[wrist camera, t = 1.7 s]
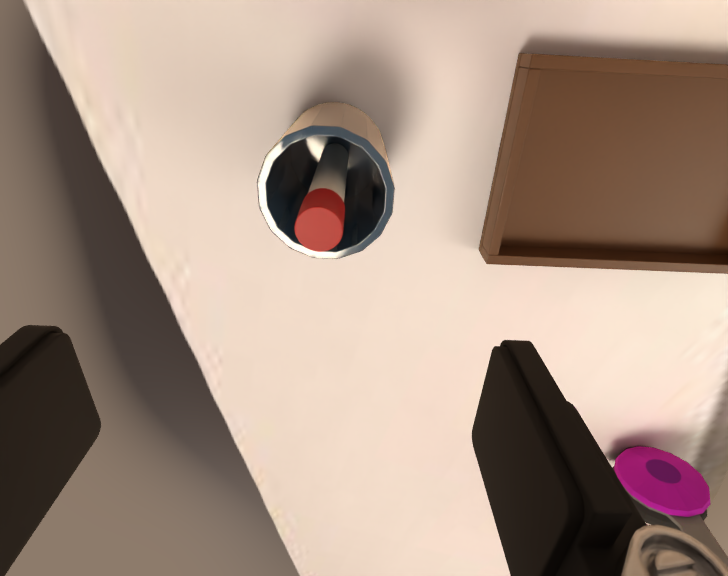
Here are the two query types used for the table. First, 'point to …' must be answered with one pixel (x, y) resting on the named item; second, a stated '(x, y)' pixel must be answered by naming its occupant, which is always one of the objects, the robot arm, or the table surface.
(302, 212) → the marker
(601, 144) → the tray
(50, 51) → the table surface
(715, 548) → the headphones
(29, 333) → the robot arm
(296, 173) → the pen cup
